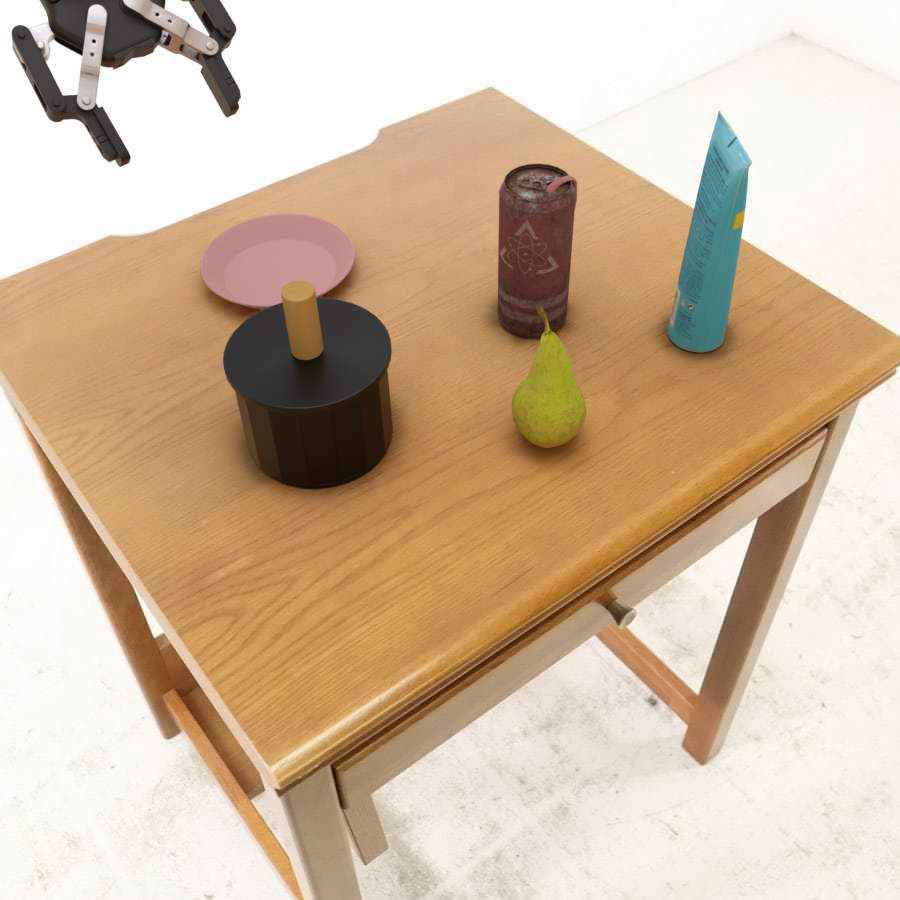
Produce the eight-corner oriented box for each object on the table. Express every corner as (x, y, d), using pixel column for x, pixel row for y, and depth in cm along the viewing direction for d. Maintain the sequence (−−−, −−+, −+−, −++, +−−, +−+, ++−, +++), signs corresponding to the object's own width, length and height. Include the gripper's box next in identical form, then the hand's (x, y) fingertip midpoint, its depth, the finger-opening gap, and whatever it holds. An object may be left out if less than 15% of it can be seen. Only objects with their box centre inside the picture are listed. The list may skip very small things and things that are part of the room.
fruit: (567, 474, 81) (577, 356, 73) (498, 450, 83) (500, 333, 75) (594, 426, 85) (607, 308, 76) (528, 404, 87) (533, 287, 78)
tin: (329, 511, 79) (316, 432, 73) (219, 449, 84) (198, 369, 78) (420, 422, 86) (415, 342, 80) (313, 369, 90) (301, 289, 84)
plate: (177, 267, 101) (172, 249, 99) (306, 213, 107) (303, 196, 105) (251, 344, 93) (247, 327, 91) (386, 282, 99) (384, 264, 97)
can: (580, 328, 93) (592, 190, 83) (514, 347, 92) (518, 209, 82) (551, 289, 97) (559, 152, 87) (487, 306, 96) (487, 169, 86)
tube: (738, 357, 90) (784, 156, 76) (684, 367, 90) (721, 166, 76) (704, 304, 95) (742, 106, 81) (653, 313, 95) (682, 115, 81)
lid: (318, 445, 73) (306, 373, 68) (190, 376, 78) (171, 305, 74) (425, 347, 80) (421, 275, 75) (301, 290, 85) (290, 219, 80)
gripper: (-49, -72, 66) (90, 166, 69) (156, -148, 70) (278, 79, 73) (-41, -22, 73) (86, 193, 76) (145, -93, 77) (257, 112, 80)
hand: (180, 137), depth 74 cm, fingers open, 8 cm apart
